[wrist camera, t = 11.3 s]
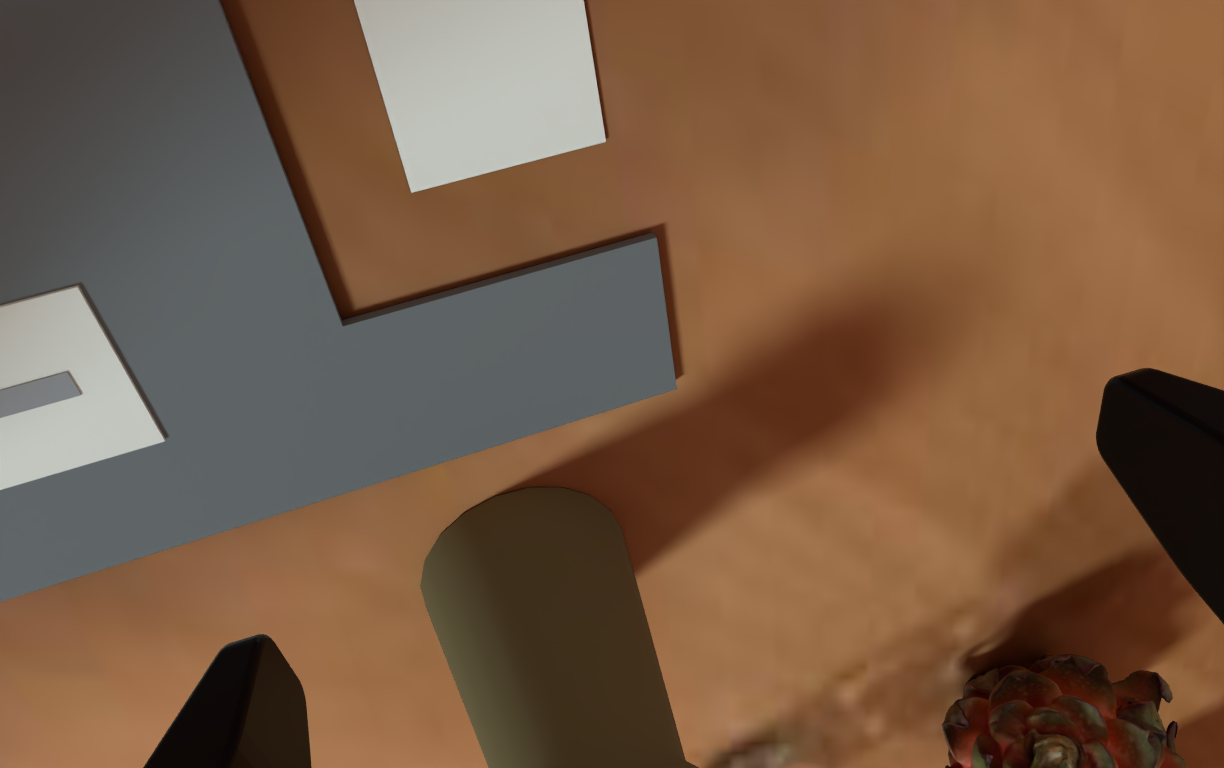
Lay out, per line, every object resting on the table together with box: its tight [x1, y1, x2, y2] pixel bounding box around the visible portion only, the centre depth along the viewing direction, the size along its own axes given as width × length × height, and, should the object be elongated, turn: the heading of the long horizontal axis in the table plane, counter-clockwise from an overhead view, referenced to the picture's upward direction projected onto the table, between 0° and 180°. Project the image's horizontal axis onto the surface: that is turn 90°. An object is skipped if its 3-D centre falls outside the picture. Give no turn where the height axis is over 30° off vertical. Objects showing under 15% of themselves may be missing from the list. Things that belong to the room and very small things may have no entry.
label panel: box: [0, 0, 677, 602], centre depth 18 cm, size 20×14×1 cm
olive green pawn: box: [421, 487, 698, 768], centre depth 22 cm, size 6×6×11 cm
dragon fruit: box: [942, 654, 1186, 768], centre depth 36 cm, size 8×8×12 cm
